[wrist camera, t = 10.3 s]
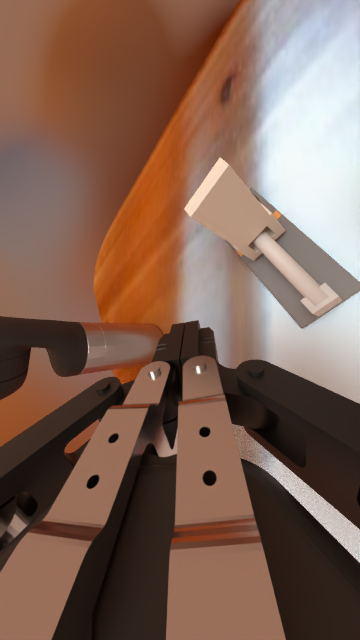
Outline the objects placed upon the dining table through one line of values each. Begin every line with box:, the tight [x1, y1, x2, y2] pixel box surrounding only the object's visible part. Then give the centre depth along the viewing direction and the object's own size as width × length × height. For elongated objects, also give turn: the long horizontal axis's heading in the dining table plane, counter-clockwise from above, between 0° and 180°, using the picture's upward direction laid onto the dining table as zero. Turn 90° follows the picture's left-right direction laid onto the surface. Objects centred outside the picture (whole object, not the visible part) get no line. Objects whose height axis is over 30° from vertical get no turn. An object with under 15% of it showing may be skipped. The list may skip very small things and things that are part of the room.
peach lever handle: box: [184, 158, 285, 261], centre depth 25 cm, size 4×6×16 cm
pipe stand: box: [227, 188, 360, 328], centre depth 29 cm, size 22×8×6 cm, turn 36°
